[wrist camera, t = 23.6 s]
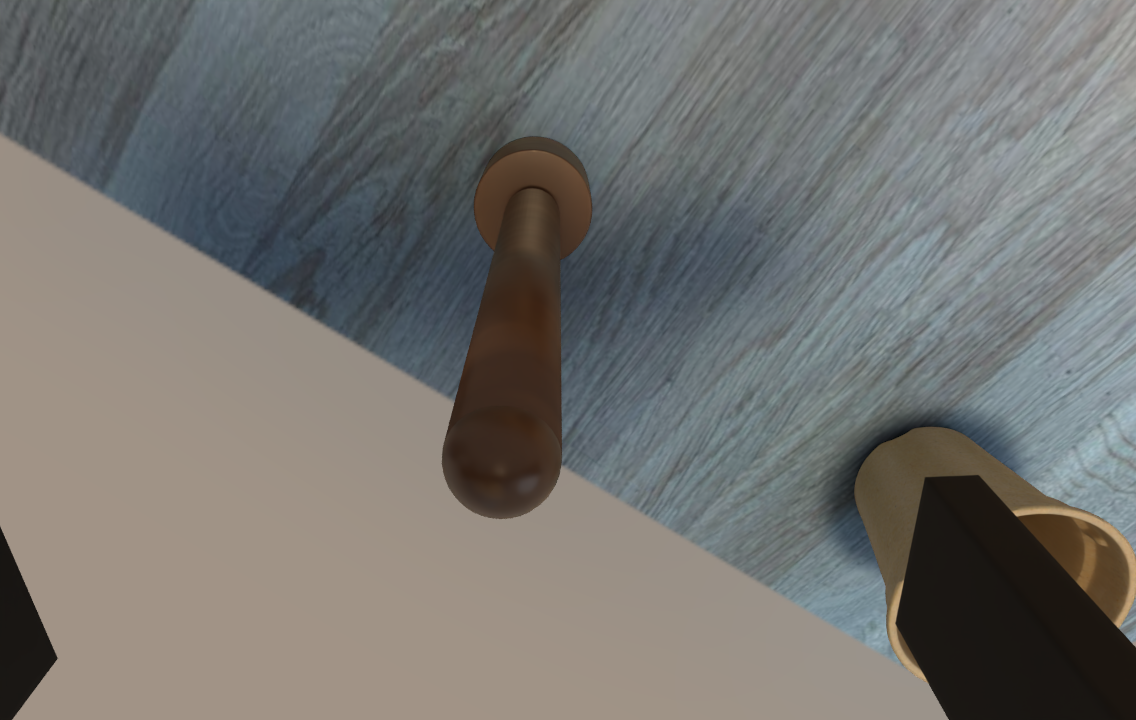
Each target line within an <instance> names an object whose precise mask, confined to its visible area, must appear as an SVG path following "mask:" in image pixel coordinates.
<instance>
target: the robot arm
mask: <svg viewBox="0 0 1136 720" xmlns="http://www.w3.org/2000/svg"><path fill="white" fill-rule="evenodd" d="M895 624H896V626H897V628H898V630H899V631H900V633H901V635H902V637H903V639H904V640H905V642H906V644H907V646H908V648H909V649H910V651H911V653H912V655H913V656H914V658H915V660H916V662H917V664H918V665H919V667H920V669H921V671H922V673H923V674H924V676H925V678H926V680H927V682H928V683H929V685H930V687H931V689H932V691H933V692H934V694H935V696H936V698H937V699H938V701H939V703H940V705H941V706H942V708H943V710H944V712H945V713H946V716H947V717H948V719H949V720H1136V647H1135V646H1134V645H1133V644H1132V643H1131V642H1130V641H1129V640H1128V638H1127V637H1126V636H1125V635H1124V634H1123V633H1122V632H1121V631H1120V630H1119V629H1118V627H1117V626H1116V625H1115V624H1114V623H1113V622H1112V621H1111V620H1110V619H1109V618H1108V616H1107V615H1106V614H1105V613H1104V612H1103V611H1102V610H1101V609H1100V608H1099V607H1098V605H1097V604H1096V603H1095V602H1094V601H1093V600H1092V599H1091V598H1090V597H1089V596H1088V594H1087V593H1086V592H1085V591H1084V590H1083V589H1082V588H1081V587H1080V586H1079V585H1078V583H1077V582H1076V581H1075V580H1074V579H1073V578H1072V577H1071V576H1070V575H1069V574H1068V573H1067V571H1066V570H1065V569H1064V568H1063V567H1062V566H1061V565H1060V564H1059V563H1058V562H1057V560H1056V559H1055V558H1054V557H1053V556H1052V555H1051V554H1050V553H1049V552H1048V551H1047V549H1046V548H1045V547H1044V546H1043V545H1042V544H1041V543H1040V542H1039V541H1038V540H1037V538H1036V537H1035V536H1034V535H1033V534H1032V533H1031V532H1030V531H1029V530H1028V529H1027V527H1026V526H1025V525H1024V524H1023V523H1022V522H1021V521H1020V520H1019V519H1018V518H1017V516H1016V515H1015V514H1014V513H1013V512H1012V511H1011V510H1010V509H1009V508H1008V507H1007V505H1006V504H1005V503H1004V502H1003V501H1002V500H1001V499H1000V498H999V497H998V496H997V494H996V493H995V492H994V491H993V490H992V489H991V488H990V487H989V486H988V485H987V483H986V482H985V481H984V480H983V479H982V478H981V477H980V476H979V475H964V476H939V477H925V479H924V484H923V489H922V494H921V499H920V504H919V509H918V514H917V519H916V524H915V529H914V533H913V538H912V543H911V548H910V553H909V558H908V563H907V568H906V573H905V578H904V583H903V588H902V593H901V597H900V602H899V607H898V612H897V617H896V622H895ZM56 660H57V656H56V654H55V651H54V649H53V647H52V644H51V642H50V640H49V638H48V636H47V633H46V631H45V628H44V626H43V624H42V622H41V619H40V617H39V615H38V612H37V610H36V608H35V605H34V603H33V601H32V599H31V596H30V594H29V592H28V589H27V587H26V585H25V582H24V580H23V578H22V576H21V573H20V571H19V569H18V566H17V564H16V562H15V559H14V557H13V555H12V553H11V550H10V548H9V546H8V544H7V541H6V539H5V536H4V534H3V532H2V530H1V527H0V720H12V719H13V718H14V716H15V715H16V714H17V712H18V711H19V710H20V708H21V707H22V706H23V704H24V703H25V701H26V700H27V699H28V698H29V696H30V695H31V694H32V692H33V691H34V690H35V688H36V687H37V685H38V684H39V683H40V682H41V680H42V679H43V677H44V676H45V675H46V673H47V672H48V671H49V669H50V668H51V667H52V665H53V664H54V663H55V661H56Z"/></svg>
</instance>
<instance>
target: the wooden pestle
mask: <svg viewBox="0 0 1136 720" xmlns="http://www.w3.org/2000/svg"><path fill="white" fill-rule="evenodd" d="M474 215H475V221H476V224H477V227H478V230H479V232H480V234H481V236H482V237H483V239H484V241H485V242H486V243H487V244H488V246H489V247H490V248H491V249H492V250H493V251H494V254H493V258H492V262H491V265H490V269H489V273H488V277H487V281H486V285H485V288H484V292H483V296H482V300H481V304H480V308H479V311H478V315H477V319H476V323H475V327H474V330H473V334H472V338H471V342H470V346H469V350H468V353H467V357H466V361H465V365H464V369H463V373H462V376H461V380H460V384H459V388H458V392H457V395H456V399H455V403H454V407H453V411H452V415H451V419H450V422H449V426H448V430H447V434H446V438H445V442H444V445H443V453H442V467H443V473H444V476H445V480H446V482H447V484H448V487H449V489H450V490H451V492H452V493H453V495H454V496H455V497H456V498H457V499H458V500H459V502H461V503H462V504H463V505H464V506H465V507H466V508H468V509H469V510H471V511H472V512H474V513H477V514H479V515H481V516H485V517H489V518H496V519H507V518H513V517H518V516H521V515H523V514H526V513H528V512H530V511H531V510H533V509H534V508H536V507H537V506H539V505H540V504H541V503H542V502H543V501H544V500H545V499H546V498H547V497H548V496H549V494H550V493H551V491H552V490H553V488H554V487H555V485H556V483H557V480H558V477H559V474H560V469H561V463H562V410H561V279H560V260H561V259H563V258H565V257H567V256H568V255H569V254H571V253H572V252H573V251H574V250H575V249H576V248H577V247H578V246H579V245H580V243H581V242H582V241H583V239H584V237H585V236H586V234H587V231H588V229H589V226H590V223H591V217H592V199H591V193H590V188H589V182H588V178H587V174H586V172H585V169H584V167H583V165H582V163H581V162H580V160H579V159H578V158H577V156H576V155H575V154H574V153H573V152H572V151H571V150H570V149H568V148H567V147H566V146H564V145H562V144H561V143H559V142H557V141H554V140H552V139H548V138H544V137H524V138H520V139H517V140H514V141H512V142H510V143H508V144H506V145H505V146H503V147H502V148H501V149H499V150H498V151H497V152H496V153H495V154H494V155H493V157H492V158H491V159H490V161H489V163H488V164H487V166H486V168H485V170H484V173H483V175H482V177H481V179H480V182H479V184H478V187H477V189H476V193H475V197H474Z"/></svg>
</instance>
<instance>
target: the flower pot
mask: <svg viewBox="0 0 1136 720" xmlns="http://www.w3.org/2000/svg"><path fill="white" fill-rule="evenodd" d="M964 475H979V476H980V477H981V478H982V479H983V480H984V481H985V482H986V483H987V485H988V486H989V487H990V488H991V489H992V490H993V491H994V492H995V493H996V494H997V496H998V497H999V498H1000V499H1001V500H1002V501H1003V502H1004V503H1005V504H1006V505H1007V507H1008V508H1009V509H1010V510H1011V511H1012V512H1013V513H1014V514H1015V515H1016V516H1017V518H1018V519H1019V520H1020V521H1021V522H1022V523H1023V524H1024V525H1025V526H1026V527H1027V529H1028V530H1029V531H1030V532H1031V533H1032V534H1033V535H1034V536H1035V537H1036V538H1037V540H1038V541H1039V542H1040V543H1041V544H1042V545H1043V546H1044V547H1045V548H1046V549H1047V551H1048V552H1049V553H1050V554H1051V555H1052V556H1053V557H1054V558H1055V559H1056V560H1057V562H1058V563H1059V564H1060V565H1061V566H1062V567H1063V568H1064V569H1065V570H1066V571H1067V573H1068V574H1069V575H1070V576H1071V577H1072V578H1073V579H1074V580H1075V581H1076V582H1077V583H1078V585H1079V586H1080V587H1081V588H1082V589H1083V590H1084V591H1085V592H1086V593H1087V594H1088V596H1089V597H1090V598H1091V599H1092V600H1093V601H1094V602H1095V603H1096V604H1097V605H1098V607H1099V608H1100V609H1101V610H1102V611H1103V612H1104V613H1105V614H1106V615H1107V616H1108V618H1109V619H1110V620H1111V621H1112V622H1113V623H1114V624H1115V625H1116V626H1117V627H1118V629H1119V628H1120V626H1121V624H1122V623H1123V621H1124V619H1125V618H1126V616H1127V614H1128V612H1129V610H1130V608H1131V606H1132V604H1133V602H1134V599H1135V595H1136V558H1135V554H1134V552H1133V549H1132V547H1131V545H1130V544H1129V542H1128V541H1127V539H1126V538H1125V537H1124V536H1123V535H1122V534H1121V533H1120V532H1119V530H1117V529H1116V528H1115V527H1113V526H1112V525H1111V524H1110V523H1108V522H1107V521H1105V520H1103V519H1102V518H1100V517H1099V516H1096V515H1094V514H1092V513H1090V512H1087V511H1085V510H1082V509H1079V508H1075V507H1071V506H1069V505H1067V504H1065V503H1063V502H1061V501H1059V500H1056V499H1054V498H1051V497H1048V496H1046V495H1044V494H1043V493H1041V492H1040V491H1039V490H1037V489H1036V488H1035V487H1033V486H1032V485H1031V484H1029V483H1028V482H1027V481H1025V480H1024V479H1023V478H1021V477H1020V476H1019V475H1017V474H1016V473H1015V472H1013V471H1012V470H1011V469H1009V468H1008V467H1007V466H1005V465H1004V464H1003V463H1001V462H1000V461H998V460H997V459H996V458H994V457H993V456H992V455H990V454H989V453H988V452H986V451H985V450H984V449H982V448H981V447H980V446H979V445H977V444H976V443H975V442H973V441H972V440H971V439H970V438H968V437H967V436H965V435H963V434H962V433H959V432H957V431H954V430H952V429H948V428H942V427H921V428H914V429H912V430H910V431H909V432H908V433H906V434H904V435H902V436H900V437H898V438H895V439H893V440H890V441H887V442H884V443H882V444H880V445H879V446H878V447H877V448H876V449H874V450H873V451H872V453H871V454H870V455H869V456H868V457H867V458H866V460H865V461H864V463H863V464H862V466H861V468H860V470H859V472H858V475H857V478H856V482H855V489H854V495H855V500H856V504H857V508H858V511H859V513H860V516H861V518H862V520H863V523H864V526H865V528H866V531H867V534H868V537H869V540H870V542H871V545H872V548H873V551H874V554H875V556H876V559H877V562H878V565H879V568H880V571H881V574H882V577H883V580H884V583H885V586H886V590H885V594H886V604H887V615H886V627H887V634H888V638H889V641H890V644H891V646H892V649H893V650H894V652H895V654H896V656H897V657H898V659H899V660H900V661H901V663H902V664H903V665H904V666H905V667H906V669H908V670H909V671H910V672H911V673H912V674H914V675H915V676H917V677H918V678H919V679H922V680H923V681H925V682H927V680H926V678H925V676H924V674H923V673H922V671H921V669H920V667H919V665H918V664H917V662H916V660H915V658H914V656H913V655H912V653H911V651H910V649H909V648H908V646H907V644H906V642H905V640H904V639H903V637H902V635H901V633H900V631H899V630H898V628H897V626H896V624H895V622H896V617H897V612H898V607H899V602H900V597H901V593H902V588H903V583H904V578H905V573H906V568H907V563H908V558H909V553H910V548H911V543H912V538H913V533H914V529H915V524H916V519H917V514H918V509H919V504H920V499H921V494H922V489H923V484H924V479H925V477H939V476H964ZM927 683H928V682H927ZM928 684H929V683H928Z"/></svg>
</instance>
